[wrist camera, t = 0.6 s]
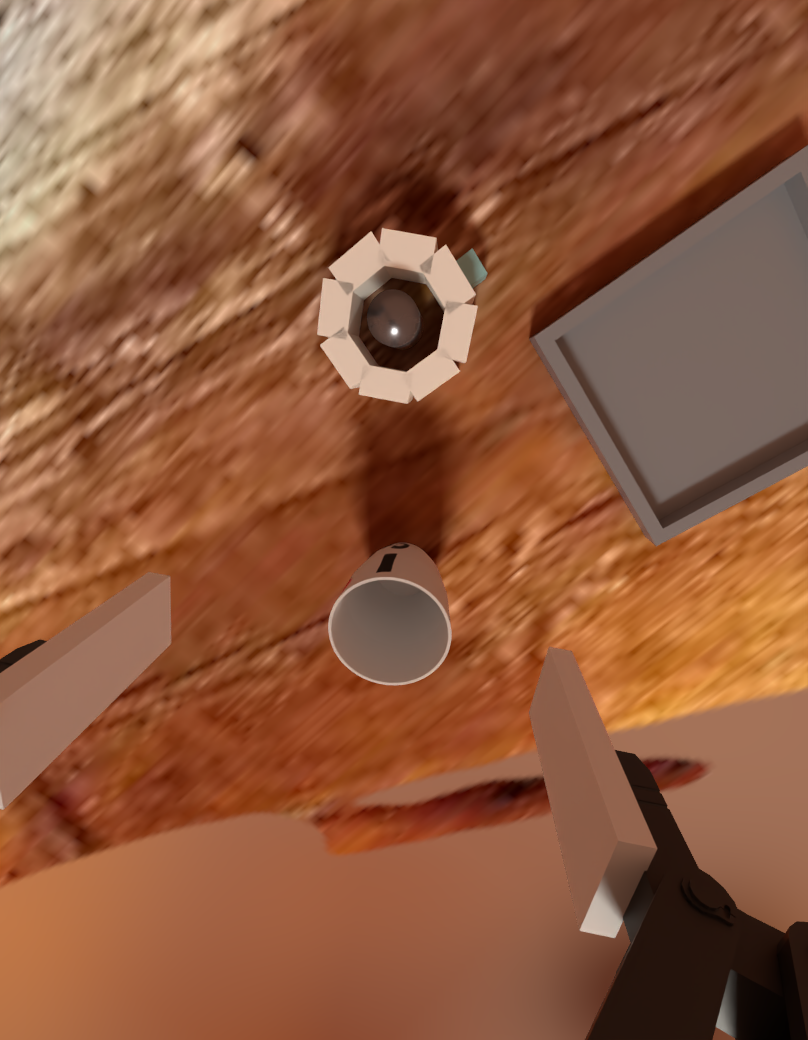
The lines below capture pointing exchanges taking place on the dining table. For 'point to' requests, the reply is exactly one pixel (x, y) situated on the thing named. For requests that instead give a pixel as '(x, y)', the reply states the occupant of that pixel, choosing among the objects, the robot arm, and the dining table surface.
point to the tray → (698, 359)
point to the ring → (368, 273)
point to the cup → (392, 617)
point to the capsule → (395, 319)
